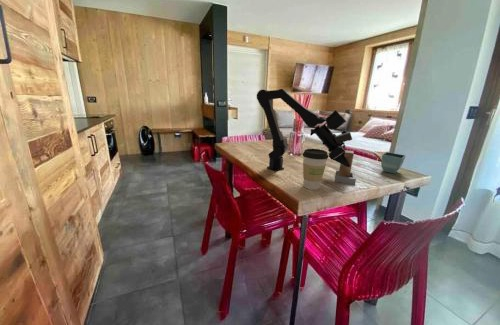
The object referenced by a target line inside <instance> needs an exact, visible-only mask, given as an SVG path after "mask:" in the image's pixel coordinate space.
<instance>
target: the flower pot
mask: <svg viewBox="0 0 500 325" xmlns="http://www.w3.org/2000/svg"><path fill="white" fill-rule="evenodd" d="M405 159H406V155H405V154H399V153H396V152H395V153H394V152H387V151H385V152H384V153H382V154H381V168H382V169H381V170H382V171H383V172H385V173H389V174H396V173H397V172H398V171H399V170H400V169H401V167H402V165H403V164H404V161H405Z"/></svg>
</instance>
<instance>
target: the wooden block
mask: <svg viewBox="0 0 500 325" xmlns="http://www.w3.org/2000/svg"><path fill="white" fill-rule="evenodd" d="M354 154H355V153H354V151H353V150H346V149H345V157H346V159H347V160H348V162H349V164H350V167H347V166H345V165H343V164H341V163H339V169H338V170H339V175H338V176H344V177H350V172H352V171H351V170H352V167H353V166H352V165H353V160H354Z"/></svg>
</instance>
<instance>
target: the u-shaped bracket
mask: <svg viewBox="0 0 500 325" xmlns="http://www.w3.org/2000/svg"><path fill="white" fill-rule="evenodd" d="M338 175H339V169H336V170H335V176H334V182H336V183H341V184H342V183H343V184H348V185H349V184H350V185H356V182H357V176H356V172H353V171H351V172H350V177H344V176H338Z"/></svg>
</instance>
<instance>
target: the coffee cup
mask: <svg viewBox="0 0 500 325" xmlns="http://www.w3.org/2000/svg"><path fill="white" fill-rule="evenodd" d="M302 157H303V161H302V169H303V172H302V174H303V175H302V176H303V187H304V188H306V189H308V190H311V191H315V190H316V191H317V190H319V189H320V186H321V182H322V180H323V177H324V172H325V170H326V166H327V159H329V154H328V151H326V150H324V149H320V148H307V149H304V151H303V152H302Z"/></svg>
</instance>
